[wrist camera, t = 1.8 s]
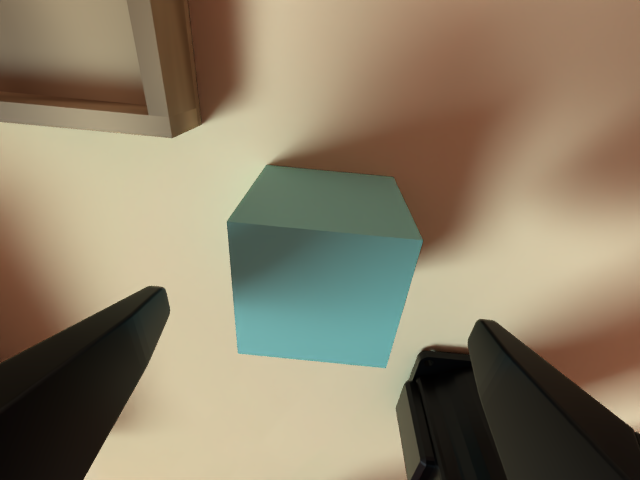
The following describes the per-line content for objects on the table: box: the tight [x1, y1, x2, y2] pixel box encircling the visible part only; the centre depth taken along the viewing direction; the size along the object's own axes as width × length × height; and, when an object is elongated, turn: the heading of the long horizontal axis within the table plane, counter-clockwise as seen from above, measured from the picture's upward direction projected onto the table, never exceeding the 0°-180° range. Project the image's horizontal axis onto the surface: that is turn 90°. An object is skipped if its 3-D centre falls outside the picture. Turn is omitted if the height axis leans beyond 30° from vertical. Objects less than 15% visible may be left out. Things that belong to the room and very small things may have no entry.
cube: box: [227, 165, 423, 368], centre depth 11 cm, size 5×5×5 cm
